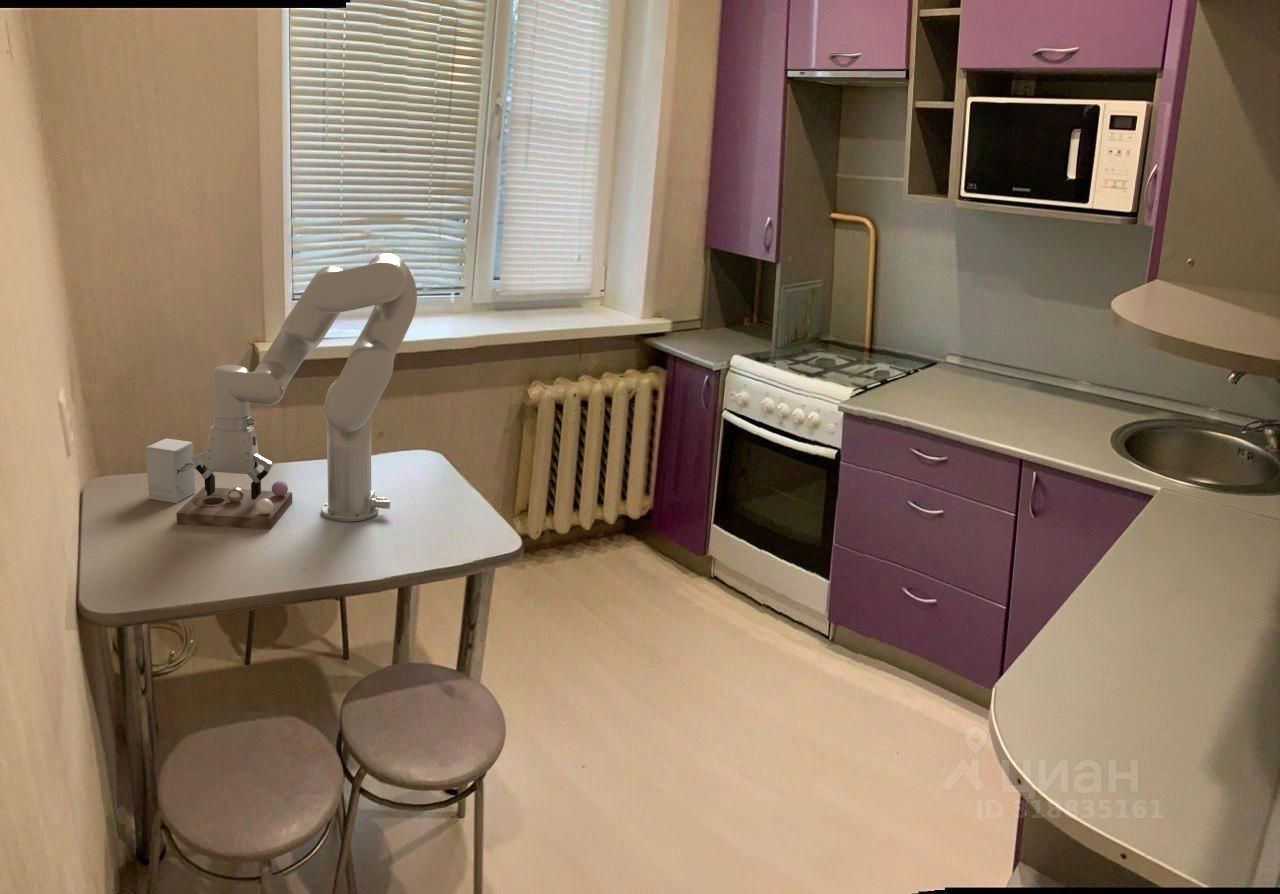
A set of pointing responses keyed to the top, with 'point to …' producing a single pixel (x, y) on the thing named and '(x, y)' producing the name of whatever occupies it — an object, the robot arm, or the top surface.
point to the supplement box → (170, 470)
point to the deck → (232, 510)
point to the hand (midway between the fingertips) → (233, 495)
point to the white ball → (264, 506)
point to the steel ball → (235, 495)
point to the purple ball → (279, 488)
